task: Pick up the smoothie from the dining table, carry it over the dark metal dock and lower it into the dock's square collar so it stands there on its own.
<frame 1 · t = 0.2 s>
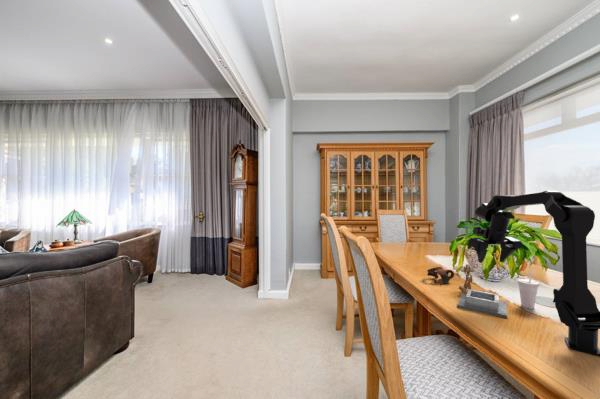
hand: (490, 262, 109), 15 cm above the table, tool pointing down, fingers open, 9 cm apart
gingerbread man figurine: (467, 291, 118), on the table
dock: (482, 305, 103), on the table
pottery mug: (440, 281, 132), on the table
smoothie: (527, 307, 102), on the table
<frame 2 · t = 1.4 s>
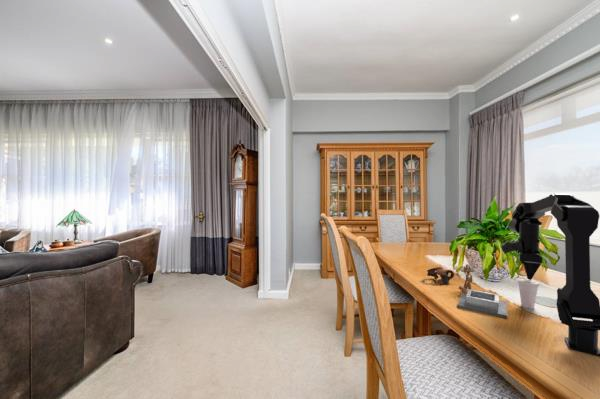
hand: (528, 276, 102), 12 cm above the table, tool pointing down, fingers open, 9 cm apart
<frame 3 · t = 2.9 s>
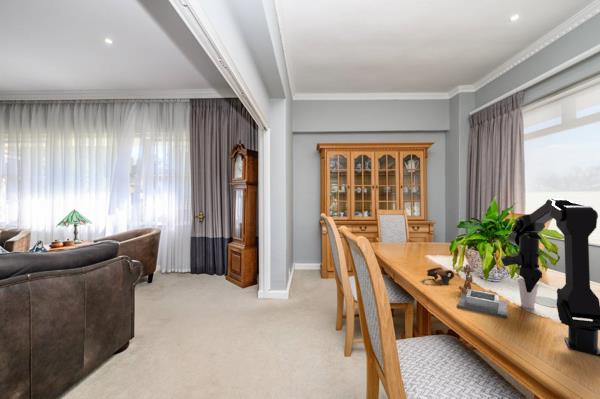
hand: (527, 289, 102), 6 cm above the table, tool pointing down, fingers closed on smoothie, 6 cm apart
smoothie: (527, 306, 102), on the table, touching gripper
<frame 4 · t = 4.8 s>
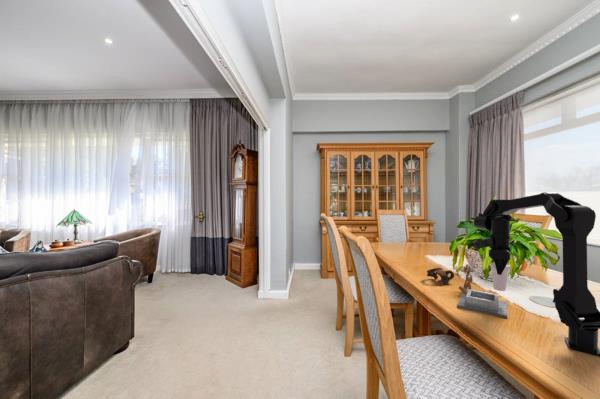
hand: (499, 272, 103), 13 cm above the table, tool pointing down, fingers closed on smoothie, 6 cm apart
smoothie: (499, 289, 103), point 6 cm above the table, touching gripper
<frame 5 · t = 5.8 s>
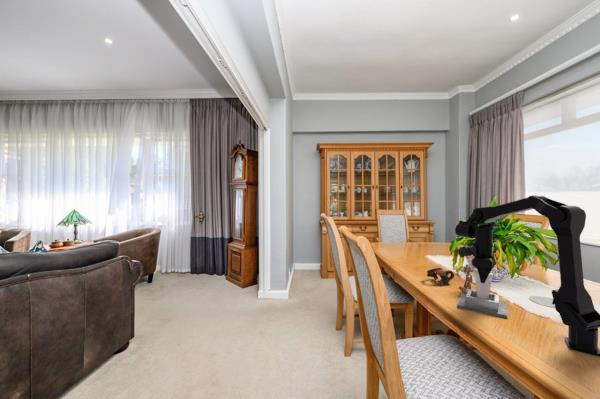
hand: (483, 280, 103), 10 cm above the table, tool pointing down, fingers closed on smoothie, 6 cm apart
smoothie: (482, 297, 103), point 3 cm above the table, touching gripper
when the fingers open (9 cm above the table, at t = 6.8 s): smoothie drops 1 cm, resting on dock.
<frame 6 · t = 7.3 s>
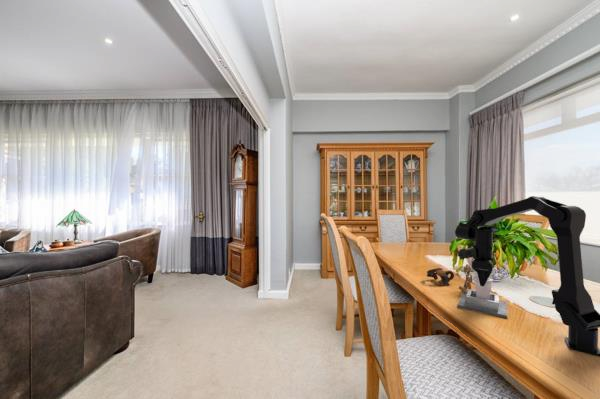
hand: (482, 282, 103), 9 cm above the table, tool pointing down, fingers open, 9 cm apart
smoothie: (482, 303, 103), point 1 cm above the table, touching dock
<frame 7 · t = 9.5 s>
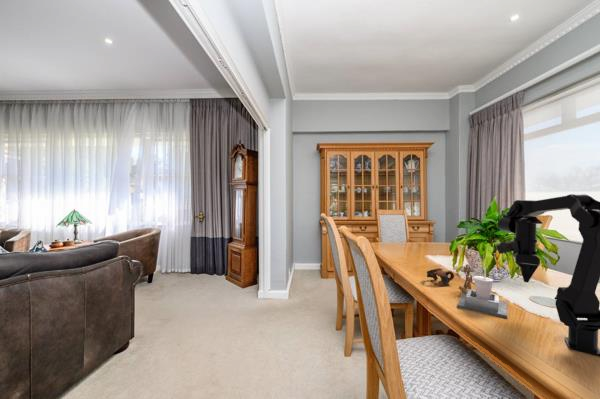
hand: (524, 278, 95), 13 cm above the table, tool pointing down, fingers open, 9 cm apart
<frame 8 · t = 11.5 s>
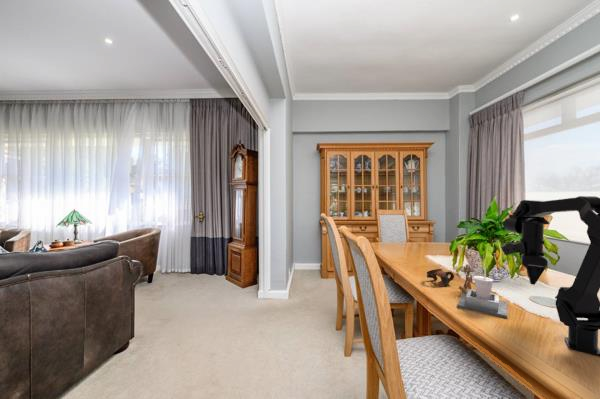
hand: (531, 280, 93), 13 cm above the table, tool pointing down, fingers open, 9 cm apart
at the end: smoothie 0.2 cm off-centre on the dock, point 0.8 cm above the dock's base; smoothie tilted 0°; the gripper is holding nothing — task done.
